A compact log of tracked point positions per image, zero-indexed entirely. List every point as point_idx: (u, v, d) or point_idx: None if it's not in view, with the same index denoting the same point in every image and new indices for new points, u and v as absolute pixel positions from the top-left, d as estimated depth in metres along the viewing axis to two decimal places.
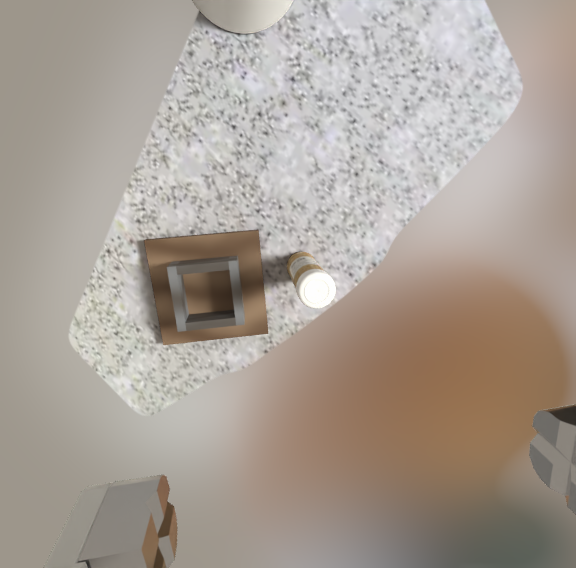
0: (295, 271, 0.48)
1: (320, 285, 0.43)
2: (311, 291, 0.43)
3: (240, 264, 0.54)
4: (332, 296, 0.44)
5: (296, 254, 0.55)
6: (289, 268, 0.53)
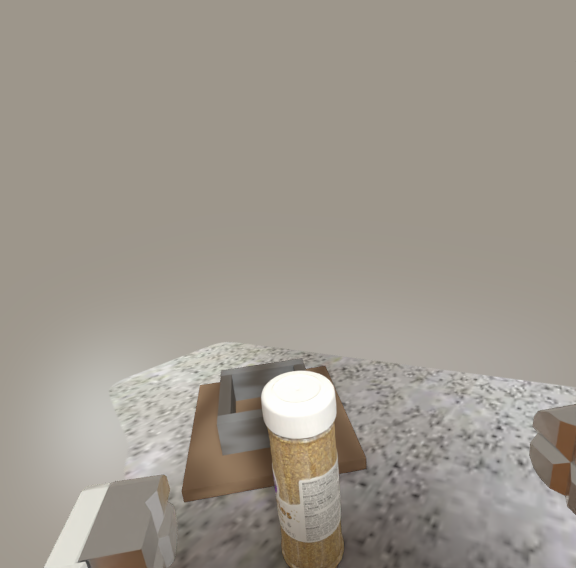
0: None
1: (309, 390, 0.22)
2: (296, 382, 0.23)
3: None
4: (286, 409, 0.21)
5: None
6: None
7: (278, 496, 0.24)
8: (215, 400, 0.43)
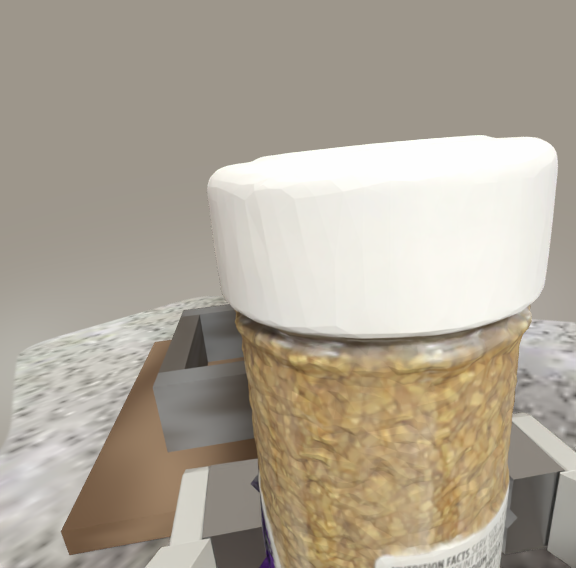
0: None
1: None
2: None
3: None
4: (336, 157, 0.03)
5: None
6: None
7: None
8: None
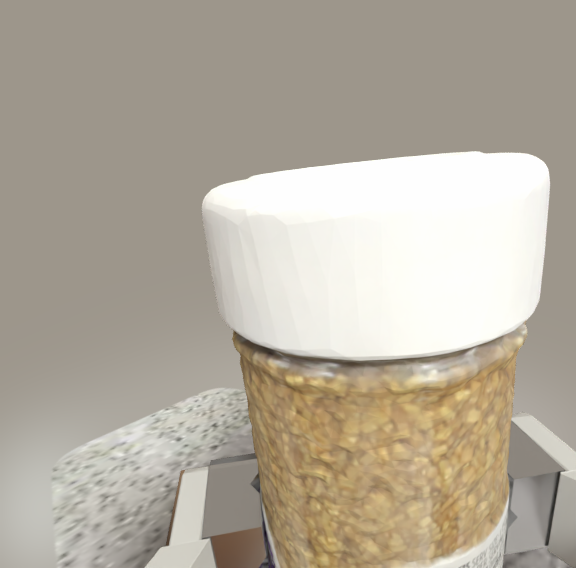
0: None
1: None
2: (346, 167, 0.06)
3: None
4: (327, 182, 0.03)
5: None
6: None
7: None
8: None
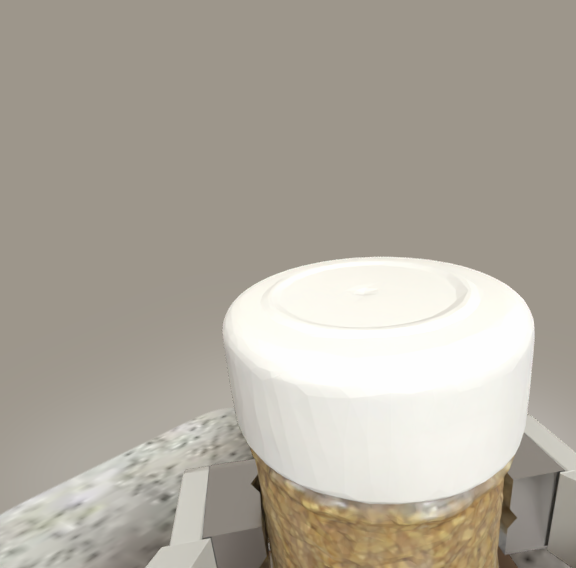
0: None
1: (416, 292, 0.05)
2: (352, 277, 0.06)
3: None
4: (343, 359, 0.04)
5: None
6: None
7: None
8: None
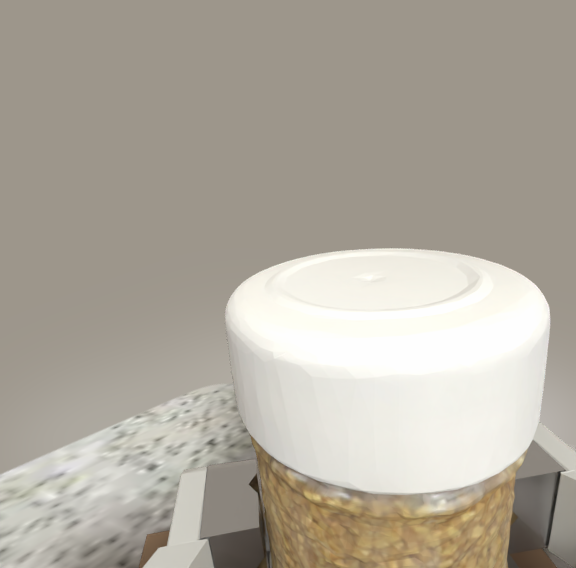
0: None
1: (425, 279, 0.05)
2: (359, 265, 0.06)
3: None
4: (349, 339, 0.04)
5: None
6: None
7: None
8: None
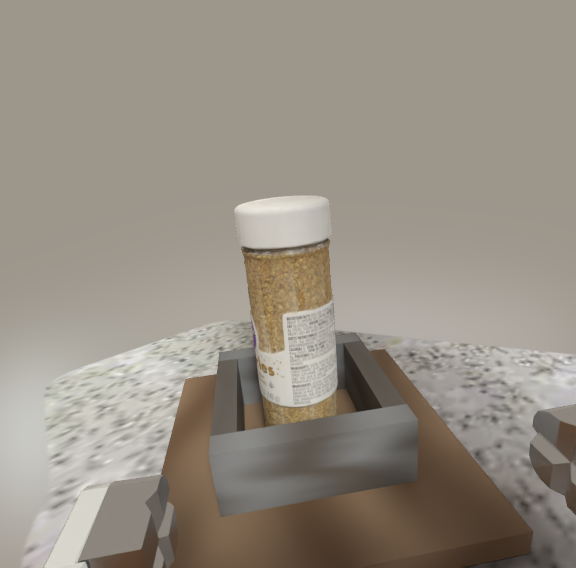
0: None
1: (295, 199, 0.17)
2: (280, 199, 0.18)
3: (391, 489, 0.17)
4: (265, 207, 0.16)
5: None
6: None
7: (258, 349, 0.19)
8: (210, 403, 0.25)
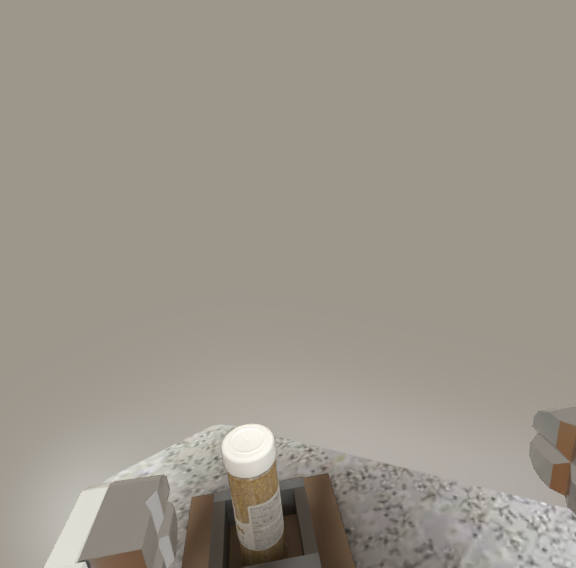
0: None
1: (255, 442, 0.31)
2: (247, 434, 0.32)
3: None
4: (237, 457, 0.29)
5: None
6: None
7: (235, 517, 0.32)
8: (208, 523, 0.39)
